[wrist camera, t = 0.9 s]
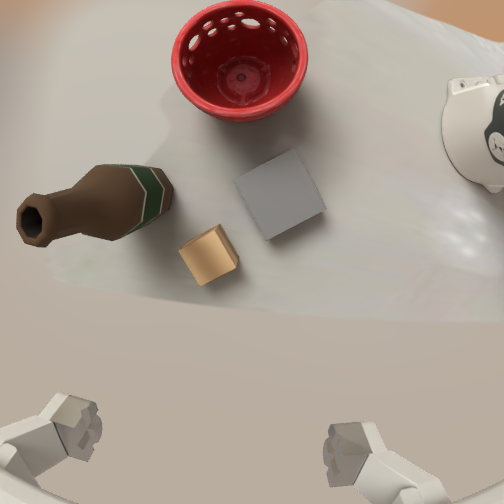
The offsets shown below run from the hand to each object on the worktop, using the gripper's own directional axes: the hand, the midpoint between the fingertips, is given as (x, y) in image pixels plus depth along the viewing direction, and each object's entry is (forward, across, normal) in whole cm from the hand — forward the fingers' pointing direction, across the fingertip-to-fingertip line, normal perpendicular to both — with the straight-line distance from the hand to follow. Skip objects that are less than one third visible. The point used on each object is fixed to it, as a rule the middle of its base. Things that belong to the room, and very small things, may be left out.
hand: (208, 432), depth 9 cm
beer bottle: (+33, +13, -6) cm, 36 cm away
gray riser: (+32, -4, -7) cm, 33 cm away
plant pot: (+33, +1, -20) cm, 39 cm away
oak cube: (+33, +4, +1) cm, 33 cm away
